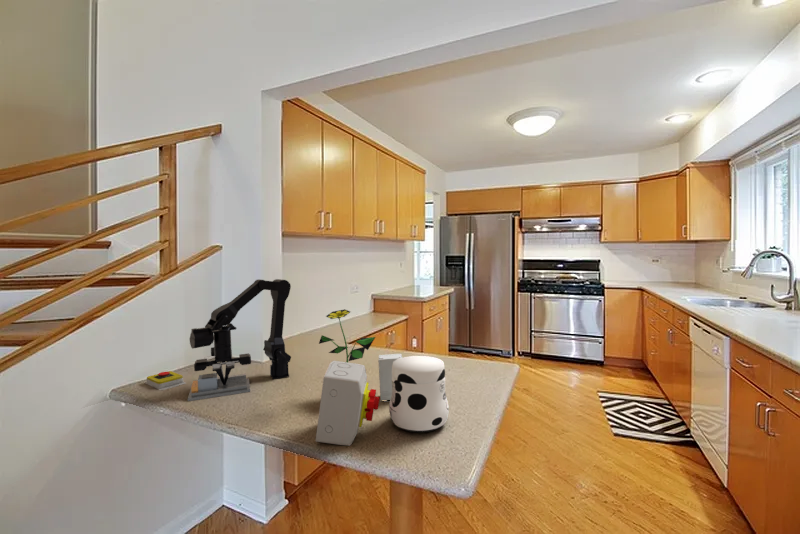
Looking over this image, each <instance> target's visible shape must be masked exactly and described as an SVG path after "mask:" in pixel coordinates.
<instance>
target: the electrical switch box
mask: <svg viewBox="0 0 800 534" xmlns="http://www.w3.org/2000/svg"><path fill="white" fill-rule="evenodd" d="M365 369H366V367H365V365H364V364H359V363H355V362H349V361H348V362H345V361H339V360H332V361H331V362H329V364H328V366H327V368H326V371H325V372H324V373H325V374H324V376H323V379H322V389H321V395H320V402H319V403H320V404H319V410H318V411H319V412H318V420H317V426H316V427H317V428H316V435H315V442H316V443H325V444H332V445H339V446H352V443H353V442H354V440H355V438H356V436H357V434H358V431H359V428H362V426H363V421H364V419H365V420H366V421H368V422H373V417H374V410H376V411H377V410H378V409H379V404H380V400H381V399H380V396H377V395H376V394H377V389H372V388H371V389H369V382H367V380H368V375H367V369H366V370H365Z"/></svg>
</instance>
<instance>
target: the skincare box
mask: <svg viewBox="0 0 800 534" xmlns="http://www.w3.org/2000/svg"><path fill="white" fill-rule="evenodd" d="M399 358H403V355H402V353H393V354H392V353H390V354H389V353H388V354H378V359H377V360H378V376H379V379H378V380H379V395H380V396H379V397H380V399H379V400H380V401H381V400H390V399H391V395H392V365H393V362H394V361H395V360H397V359H399Z"/></svg>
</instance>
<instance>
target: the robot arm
mask: <svg viewBox="0 0 800 534" xmlns="http://www.w3.org/2000/svg"><path fill="white" fill-rule="evenodd" d="M291 287H292V286H291V283H290V281H288V280H286V279H278V278H275V279H273V280H272V281H271V280H265V279H255V281H253V283H252V284H250V285H249V286H248V287H246V289H244V290H243V291H242V292H241V293H239V294H238V295H237V296H236V297H235V298H233V299H231V301H230V302H227V303H225V304H223V305H220V306H218V307H217V308H216V309H214V310H212V312H211V314H210V318H209V320H208V321H207V323H206V324H205V325H204V327H199V328H197V327H196V328H191V332H190V336H189V344H190V348H191V349H192V350H193V349H198V348H204V347H209V346H211V345H212V344H213V347H211V348H210V357H214V359H213V360H208V358H200V359H196V360H195V362H194V364H193V367H194V368H193V369H194V370H193V371H194V372H200V371H205V370H206V369H207V367H212V372H215V373H217V376H218V377H220V379H221V381H222V383H223V385H226V382H227V379H228V376H230V373H231V370H232V369H235V364H237V363H239V364H240V365H241V366H246V365H251V364H252V357H251V354H250V353H243V354H242V353H241V354H239V357H237V356H236V357H233V352H232V333H231V331H233V330H234V331H235V330H237V327H236V326H235V325H234V324H233V323H232V321H234V319H235V318H236V316H237V315H238V313H239V311H240V310H241V309H242V308H243V307H245V306H246V305H247V304H248V303H250V301H252V300H253V299H254V298H255V297H257V296H258V295H259V294H260V293H261V292H263V291H264V290H265V291H266V290H267V291H270V297H271V299H272V308H271V309H272V310H271V321H270V322H271V323H270V332H269V335H270V336H269V337H268V339H266V340H265V339H264V341H263V344H264V345H263V351H264V354H265V356H266V357H268V359H269V361H271V364H270V365H269V370H270V371H269V372H270V374H269V375H270V377H271V378H272V380H276V379H281V378H283V379H285V378H289V377H290V374H289V363H290V362H291V359H292V356H291V355H290V354H288V353H287V352H286V345H285V341H284V338H283V334H284V333H283V331H284V321H285V320H284V319H285V307H286V301H287V299H288V297H289V296H290V292H291ZM223 365H225V370H224V369H223ZM224 371H225V372H224ZM224 376H225V379H224Z"/></svg>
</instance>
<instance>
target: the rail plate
mask: <svg viewBox="0 0 800 534" xmlns="http://www.w3.org/2000/svg"><path fill="white" fill-rule="evenodd" d="M224 379H225V375H224ZM217 382H218V388H217V389H213V390H206V391H199V392H198V379H195V380H193V381H192V384H191V387H190V390H189V394H188V396H187V402H191V401H198V400H199V401H200V400H205V399H206V400H207V399H212V398H213V399H214V398H217V397H224V396H231V395H239V394H245V393H251V385H250V384H251V383H250V378H249V377H248V378H247V374H246V373H241V374H232V375H229V376H228V379H227V382H226V385H223V383H222V381H221V379H220V377H219V376H217Z"/></svg>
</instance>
